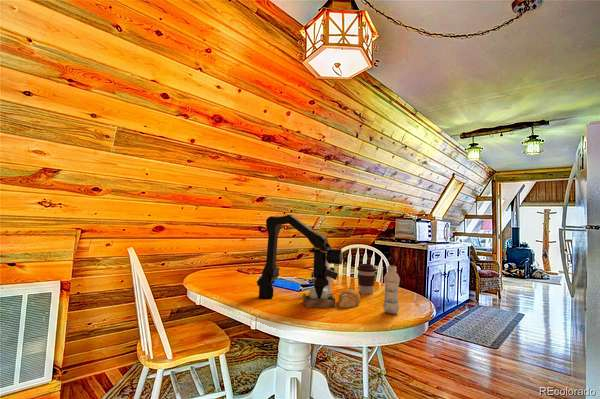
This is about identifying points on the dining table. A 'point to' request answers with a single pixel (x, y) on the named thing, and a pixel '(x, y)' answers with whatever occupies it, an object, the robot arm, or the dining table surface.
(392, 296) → the plastic bottle
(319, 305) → the tray
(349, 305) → the croissant
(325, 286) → the milk bottle
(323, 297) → the roll
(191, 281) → the dining table surface
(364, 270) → the coffee cup
